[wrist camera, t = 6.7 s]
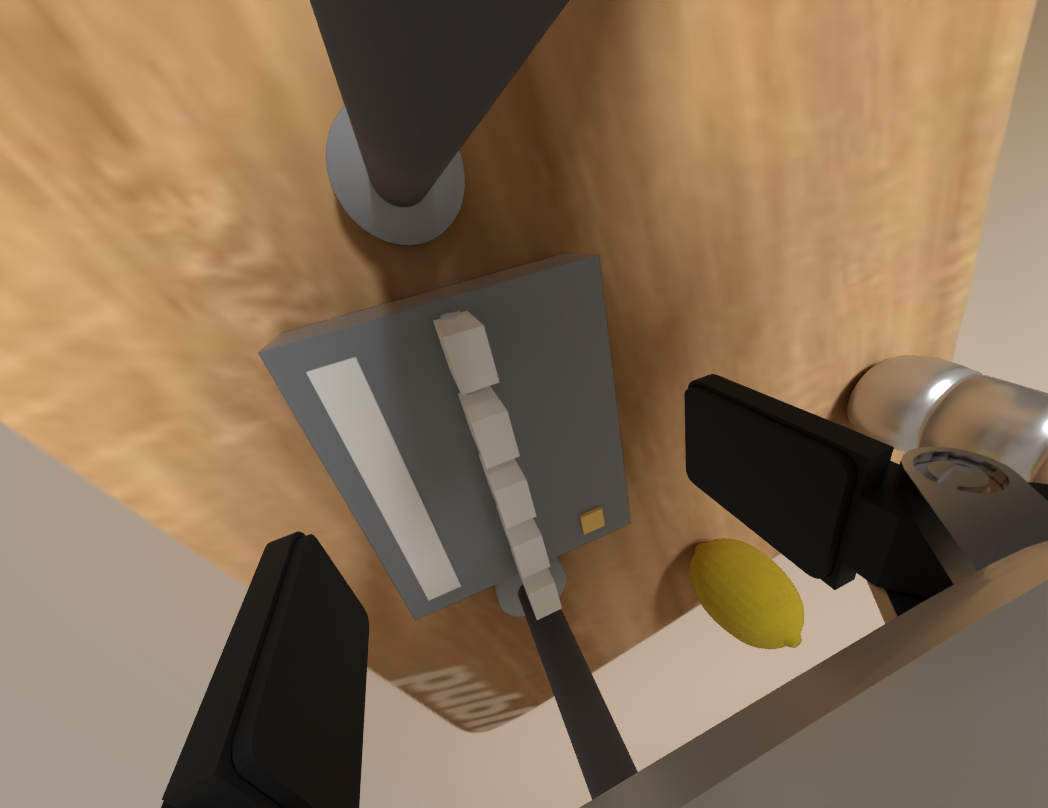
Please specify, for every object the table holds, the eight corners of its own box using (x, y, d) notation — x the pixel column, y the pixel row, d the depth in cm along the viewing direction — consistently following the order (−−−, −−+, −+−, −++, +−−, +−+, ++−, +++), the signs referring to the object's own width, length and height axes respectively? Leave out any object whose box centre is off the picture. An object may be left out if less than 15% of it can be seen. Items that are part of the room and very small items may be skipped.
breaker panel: (282, 332, 14) (255, 354, 11) (565, 252, 16) (601, 255, 14) (412, 572, 20) (415, 624, 18) (603, 491, 23) (632, 525, 20)
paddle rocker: (431, 317, 12) (441, 334, 10) (465, 306, 13) (482, 322, 10) (518, 572, 18) (537, 621, 16) (540, 562, 19) (562, 609, 16)
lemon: (669, 584, 29) (757, 692, 22) (664, 536, 26) (762, 641, 19) (727, 553, 30) (829, 647, 23) (727, 504, 27) (842, 593, 20)
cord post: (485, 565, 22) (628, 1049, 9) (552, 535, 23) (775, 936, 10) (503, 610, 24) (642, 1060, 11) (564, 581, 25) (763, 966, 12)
